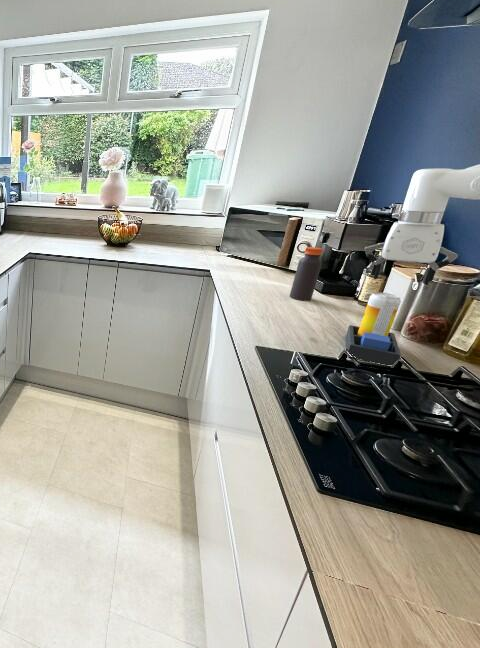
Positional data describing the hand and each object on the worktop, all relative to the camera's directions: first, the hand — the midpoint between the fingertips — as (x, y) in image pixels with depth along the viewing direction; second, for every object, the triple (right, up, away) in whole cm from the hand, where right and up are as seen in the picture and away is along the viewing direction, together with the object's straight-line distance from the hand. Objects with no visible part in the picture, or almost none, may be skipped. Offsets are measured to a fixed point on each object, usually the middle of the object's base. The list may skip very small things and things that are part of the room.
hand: (399, 280), depth 110 cm
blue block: (-8, -20, 0) cm, 22 cm away
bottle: (+12, -4, +47) cm, 49 cm away
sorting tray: (-5, -20, +3) cm, 21 cm away
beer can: (-2, -18, +6) cm, 19 cm away
